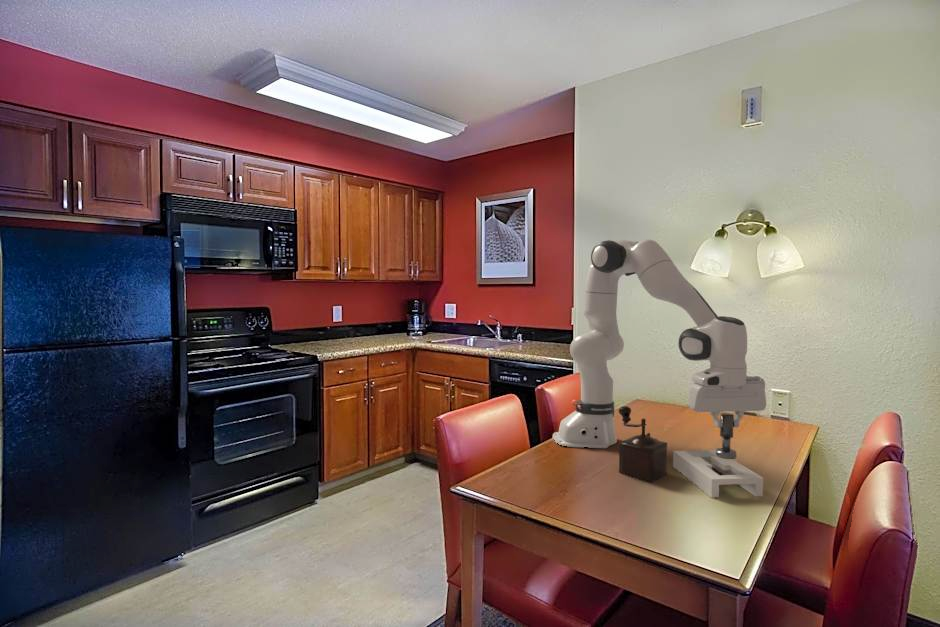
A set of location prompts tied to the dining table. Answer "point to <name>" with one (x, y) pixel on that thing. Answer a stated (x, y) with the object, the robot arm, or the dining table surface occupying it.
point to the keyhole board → (707, 480)
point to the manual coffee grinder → (641, 453)
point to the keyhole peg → (726, 437)
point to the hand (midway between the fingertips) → (726, 426)
